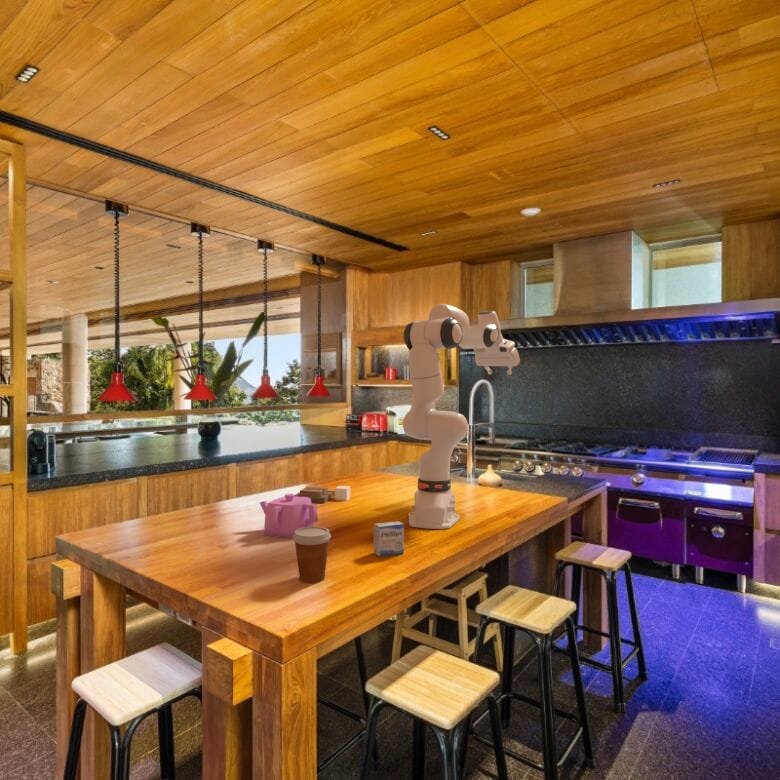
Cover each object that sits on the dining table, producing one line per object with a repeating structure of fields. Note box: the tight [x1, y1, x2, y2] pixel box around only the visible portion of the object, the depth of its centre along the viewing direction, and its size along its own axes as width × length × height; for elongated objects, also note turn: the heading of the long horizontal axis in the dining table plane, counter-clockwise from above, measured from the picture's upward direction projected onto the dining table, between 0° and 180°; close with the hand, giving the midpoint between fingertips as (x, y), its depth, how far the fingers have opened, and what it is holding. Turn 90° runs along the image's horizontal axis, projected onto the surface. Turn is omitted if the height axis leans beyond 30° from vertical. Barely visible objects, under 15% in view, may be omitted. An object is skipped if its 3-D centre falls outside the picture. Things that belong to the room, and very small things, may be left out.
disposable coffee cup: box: [292, 526, 332, 584], centre depth 135 cm, size 10×10×12 cm
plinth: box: [294, 486, 335, 504], centre depth 223 cm, size 14×14×4 cm
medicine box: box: [373, 520, 405, 558], centre depth 154 cm, size 8×4×9 cm, turn 114°
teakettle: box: [259, 493, 319, 539], centre depth 176 cm, size 17×17×12 cm
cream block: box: [334, 485, 351, 502], centre depth 223 cm, size 5×5×5 cm
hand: (500, 373), depth 238 cm, fingers open, 8 cm apart
